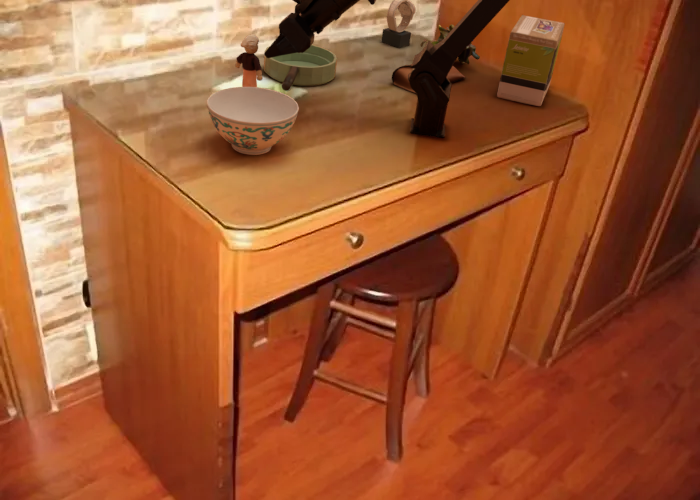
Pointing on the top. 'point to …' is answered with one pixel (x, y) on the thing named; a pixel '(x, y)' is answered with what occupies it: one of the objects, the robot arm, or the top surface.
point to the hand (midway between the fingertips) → (272, 48)
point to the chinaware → (252, 117)
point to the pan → (304, 66)
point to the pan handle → (290, 78)
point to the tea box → (530, 60)
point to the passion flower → (465, 54)
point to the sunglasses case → (403, 73)
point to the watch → (398, 34)
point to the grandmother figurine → (250, 62)
